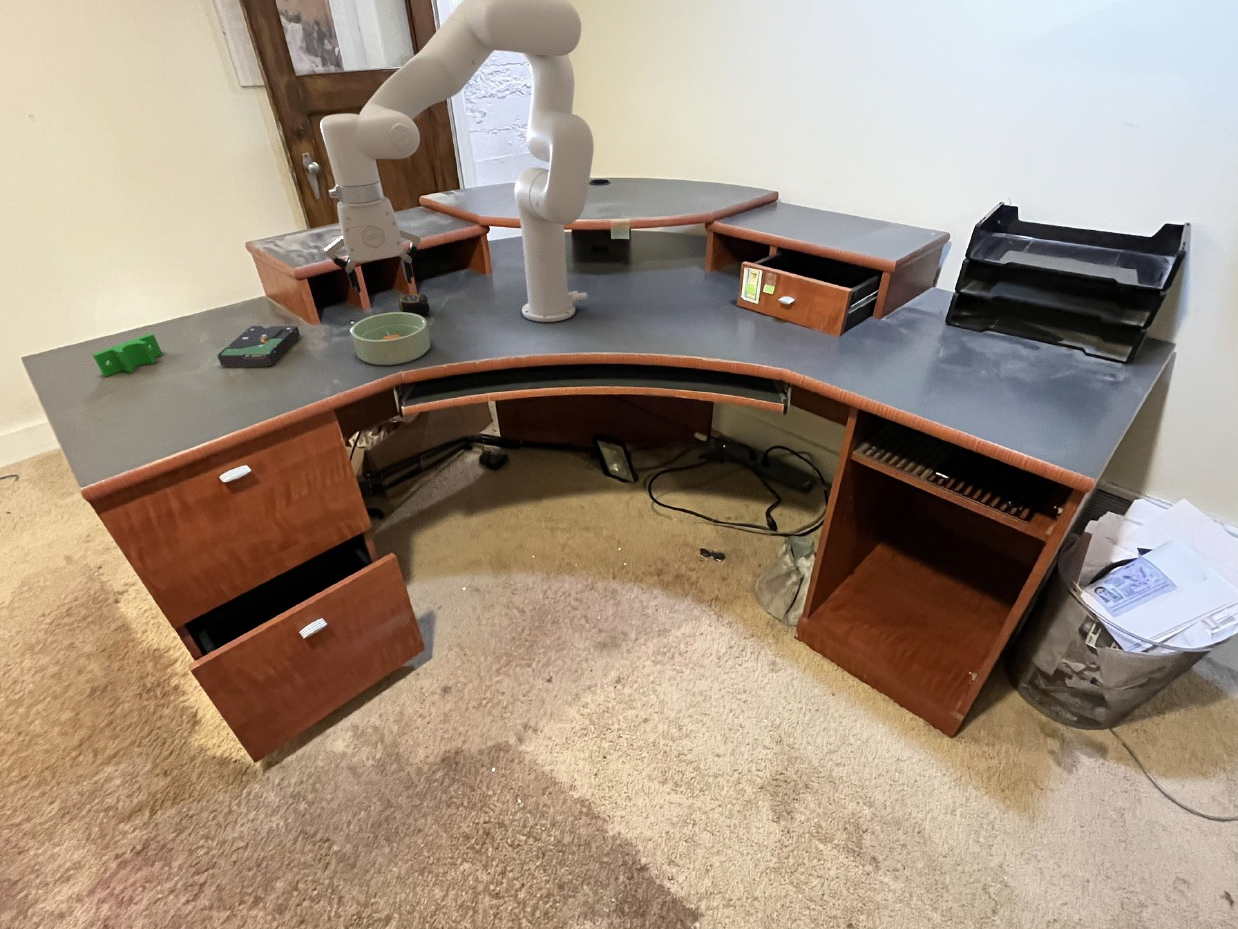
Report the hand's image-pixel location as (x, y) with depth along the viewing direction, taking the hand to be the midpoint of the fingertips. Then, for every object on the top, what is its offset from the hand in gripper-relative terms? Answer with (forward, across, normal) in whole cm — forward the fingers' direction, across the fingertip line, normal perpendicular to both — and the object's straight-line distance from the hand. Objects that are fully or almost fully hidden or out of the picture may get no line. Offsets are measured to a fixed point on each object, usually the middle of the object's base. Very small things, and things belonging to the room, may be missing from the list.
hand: (383, 285), depth 121 cm
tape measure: (+15, +8, +21) cm, 27 cm away
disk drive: (+14, -26, +14) cm, 33 cm away
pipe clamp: (+14, -49, +18) cm, 54 cm away
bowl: (+15, -1, +2) cm, 15 cm away
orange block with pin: (+14, -1, +2) cm, 14 cm away
